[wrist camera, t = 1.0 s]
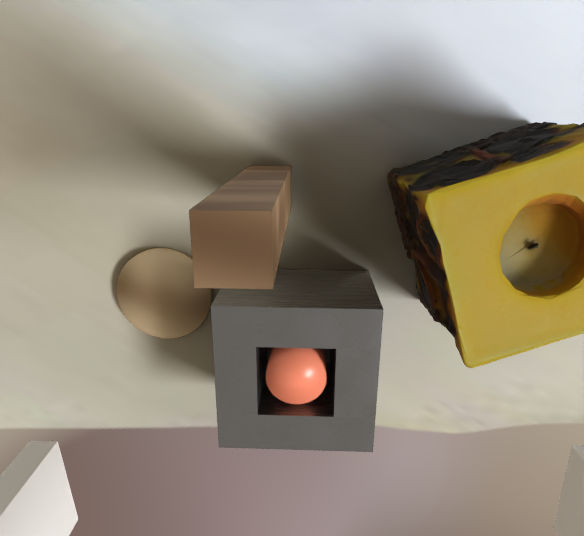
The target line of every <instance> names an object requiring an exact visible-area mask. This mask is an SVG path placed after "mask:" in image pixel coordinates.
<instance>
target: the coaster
mask: <svg viewBox="0 0 584 536" xmlns="http://www.w3.org/2000/svg"><path fill="white" fill-rule="evenodd" d="M116 293H117V299H118V303H119V306H120V308H121V310H122V312H123V313H124V315H125V317H126V318H127V319H128V320H129V321H130V322H131V323H132V324H133V325H134V326H135V327H137V328H138V329H139V330H141V331H143V332H144V333H147V334H149V335H152V336H155V337H159V338H177V337H181V336H185V335H187V334H189V333H191V332H193V331H194V330H195V329H197V328H198V327H199V326H200V325H201V324H202V323H203V321H204V320H205V318H206V316H207V314H208V312H209V310H210V307H211V303H212V289H211V288H194V274H193V260H192V258H191V257H189V256H188V255H186V254H184V253H182V252H180V251H177V250H174V249H169V248H153V249H149V250H145V251H143V252H141V253H139V254H137V255H136V256H134V257H133V258H132V259H130V260H129V261H128V262H127V263H126V264H125V266H124V267H123V268H122V270H121V272H120V274H119V276H118V280H117V286H116Z"/></svg>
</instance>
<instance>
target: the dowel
mask: <svg viewBox="0 0 584 536" xmlns="http://www.w3.org/2000/svg"><path fill="white" fill-rule="evenodd" d="M290 210H291V166H274V165H250V166H248V167H247V168H246V169H244V170H243V171H242V172H240V173H239V174H238V175H236V176H235V177H234V178H232V179H231V180H229V181H228V182H227V183H225V184H224V185H223V186H221V187H220V188H219V189H217V190H216V191H215V192H213V193H212V194H211V195H209V196H208V197H206V198H205V199H204V200H202V201H201V202H200V203H198V204H197V205H196V206H194V207H193V208H192V209H190V210H189V217H190V232H191V246H192V260H193V274H194V288H231V289H273V285H274V281H275V276H276V272H277V267H278V263H279V259H280V254H281V250H282V245H283V241H284V236H285V232H286V227H287V223H288V219H289V214H290Z"/></svg>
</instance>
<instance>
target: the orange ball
mask: <svg viewBox="0 0 584 536" xmlns="http://www.w3.org/2000/svg"><path fill="white" fill-rule="evenodd" d="M326 380H327V378H326V361H325V349H321V348H275V347H271V348H270V354H269V360H268V365H267V371H266V383H267V386H268V388H269V390H270V391H271V393H272V394H273V395H274V396H275V397H276V398H278V399H279V400H281V401H283V402H286V403H290V404H304V403H308V402H310V401H312V400H314V399H316V398H317V397H318V396H319V395H320V394H321V393H322V391H323V390H324V388H325V385H326Z"/></svg>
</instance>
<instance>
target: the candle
mask: <svg viewBox="0 0 584 536" xmlns="http://www.w3.org/2000/svg"><path fill="white" fill-rule="evenodd" d="M387 179H388V185H389V188H390V191H391V194H392V199H393V203H394V206H395V215H397V222H398V225H399V228H400V231H401V233H402V240H403V243H404V248H405V249H406V250H408V251H407V257H408V258H409V259H413V260H414V262H415V266H416V276H417V285H416V288H417V289H418V296H419V297H420V302H421V303H422V304H423V305H424V307H425V308H426V309H428V312H429V313H430V315H431V316H432V317H433V319H434V321H436V322H440V323H441V324H442V325H443V326H444V327H446V328H447V330H448V331H449V332H450V333H451V334H452V335H453V337H454V338H455V343H456V347H457V349H458V350H459V353H460V355H461V358H462V360H463V363H464V364H465V365H466V367H469V368H474V367H477V366H481V365H484V364H487V363H490V362H493V361H496V360H499V359H502V358H505V357H509V356H512V355H515V354H519V353H522V352H525V351H528V350H531V349H534V348H537V347H540V346H543V345H546V344H550V343H553V342H556V341H559V340H563V339H566V338H569V337H573V336H576V335H579V334H583V333H584V123H583V124H581V125H577V124H568V125H557V123H547V122H543V123H537V122H536V123H531V124H527V125H526V126H522V127H518V128H515V129H512V130H510V131H509V132H499V133H497V134H495V135H492V136H490V137H489V138H488V139H481V140H479V141H478V142H474V143H470V144H469V145H465V146H462V147H458V148H455V149H453V150H451V151H445V152H444V153H443V154H442V155H439V156H435V157H433V158H430V159H428V160H423V161H420V162H417V163H415V164H412V165H409V166H407V167H404V168H394V169H393V170H392V171H391V172H389V173H388V177H387Z"/></svg>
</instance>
